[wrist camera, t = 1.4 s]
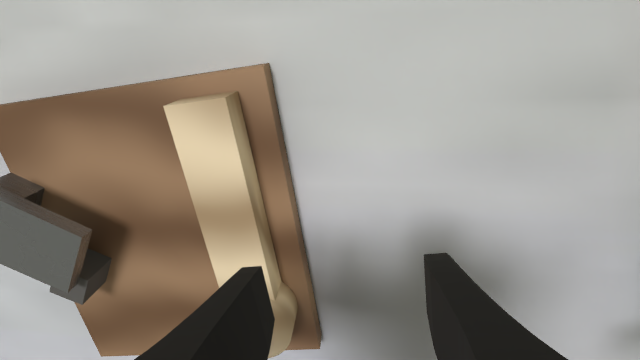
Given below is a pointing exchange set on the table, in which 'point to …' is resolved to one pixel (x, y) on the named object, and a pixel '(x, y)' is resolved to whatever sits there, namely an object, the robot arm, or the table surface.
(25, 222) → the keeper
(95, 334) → the board
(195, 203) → the link
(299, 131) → the table surface
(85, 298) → the block
